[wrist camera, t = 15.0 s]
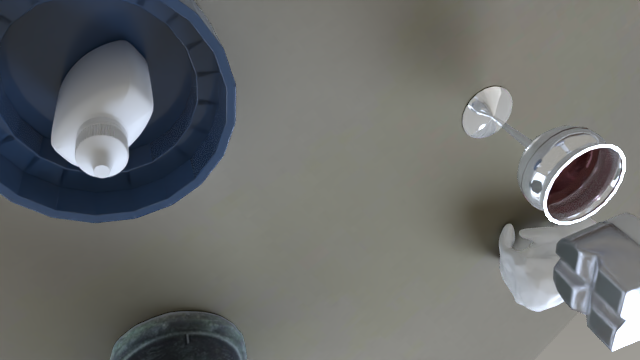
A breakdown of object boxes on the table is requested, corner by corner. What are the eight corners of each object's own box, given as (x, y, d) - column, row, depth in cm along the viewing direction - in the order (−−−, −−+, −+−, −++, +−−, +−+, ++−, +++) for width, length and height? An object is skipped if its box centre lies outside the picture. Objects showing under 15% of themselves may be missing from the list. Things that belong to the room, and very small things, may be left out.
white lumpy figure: (539, 289, 48) (641, 231, 50) (478, 235, 54) (571, 186, 57) (537, 331, 51) (632, 275, 54) (481, 276, 58) (568, 228, 60)
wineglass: (476, 67, 43) (579, 134, 34) (534, 86, 47) (644, 152, 37) (440, 139, 46) (525, 220, 37) (497, 152, 49) (589, 229, 40)
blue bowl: (-100, -9, 29) (-142, 23, 24) (171, -88, 31) (182, -73, 26) (44, 202, 38) (35, 256, 33) (246, 130, 40) (265, 171, 35)
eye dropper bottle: (156, 98, 36) (173, 195, 26) (68, 114, 34) (53, 223, 25) (140, 34, 33) (153, 117, 24) (44, 49, 32) (17, 143, 22)
